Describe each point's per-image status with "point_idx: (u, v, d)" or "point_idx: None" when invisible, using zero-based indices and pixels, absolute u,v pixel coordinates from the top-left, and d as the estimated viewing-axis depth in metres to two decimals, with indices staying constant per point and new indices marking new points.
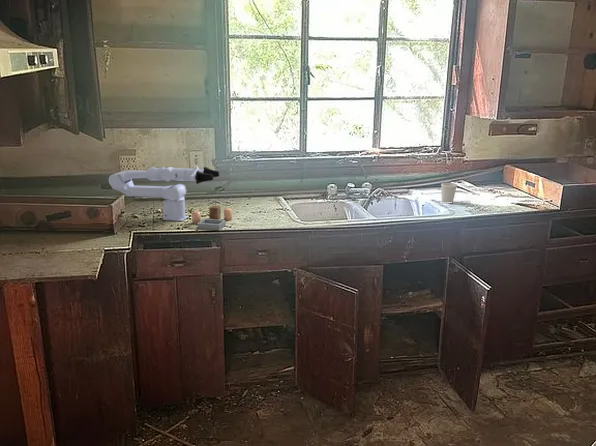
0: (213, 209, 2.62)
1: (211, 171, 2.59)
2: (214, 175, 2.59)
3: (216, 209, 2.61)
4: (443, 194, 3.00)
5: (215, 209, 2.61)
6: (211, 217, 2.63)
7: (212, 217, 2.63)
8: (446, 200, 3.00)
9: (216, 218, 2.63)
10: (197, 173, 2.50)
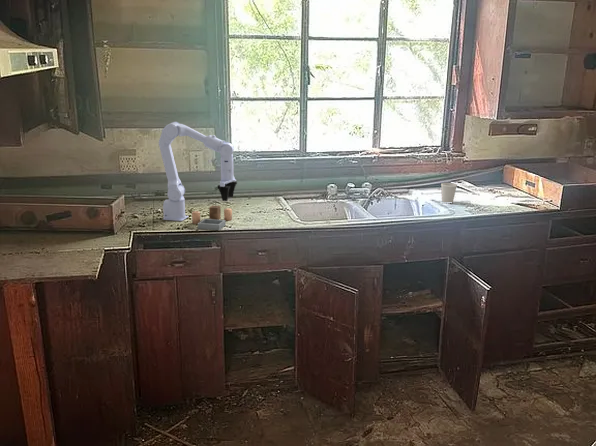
0: (213, 209, 2.62)
1: (232, 190, 2.64)
2: (228, 192, 2.65)
3: (216, 209, 2.61)
4: (443, 194, 3.00)
5: (215, 209, 2.61)
6: (211, 217, 2.63)
7: (212, 217, 2.63)
8: (446, 200, 3.00)
9: (216, 218, 2.63)
10: (227, 188, 2.54)
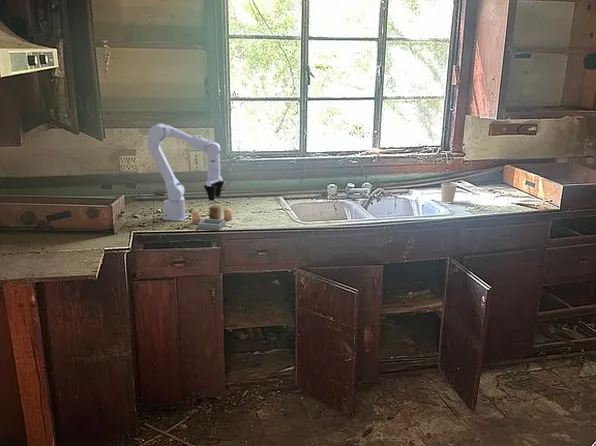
0: (213, 209, 2.62)
1: (219, 190, 2.65)
2: (215, 192, 2.65)
3: (216, 209, 2.61)
4: (443, 194, 3.00)
5: (215, 209, 2.61)
6: (211, 217, 2.63)
7: (212, 217, 2.63)
8: (446, 200, 3.00)
9: (216, 218, 2.63)
10: (213, 188, 2.55)
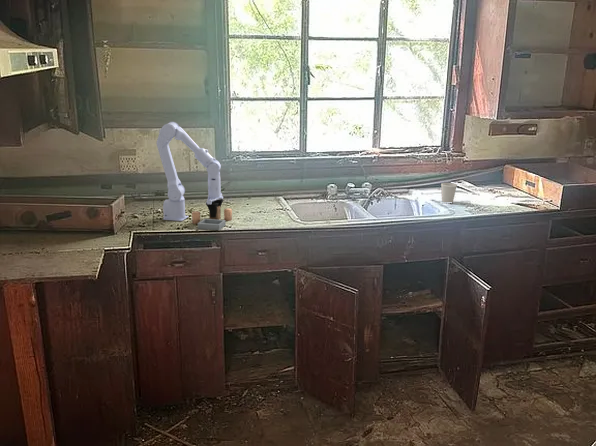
0: None
1: None
2: None
3: None
4: (443, 194, 3.00)
5: None
6: (211, 217, 2.63)
7: (212, 217, 2.63)
8: (446, 200, 3.00)
9: (216, 218, 2.63)
10: (215, 205, 2.58)
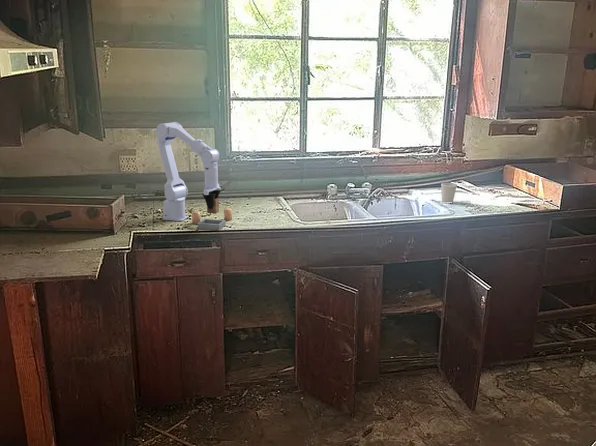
0: None
1: None
2: None
3: (214, 201, 2.50)
4: (443, 194, 3.00)
5: None
6: (209, 210, 2.51)
7: (210, 210, 2.51)
8: (446, 200, 3.00)
9: (214, 211, 2.51)
10: (212, 196, 2.46)
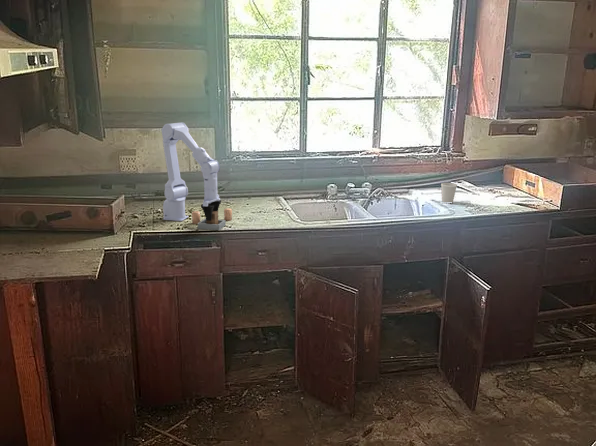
0: None
1: (216, 209, 2.54)
2: (212, 211, 2.55)
3: (213, 214, 2.49)
4: (443, 194, 3.00)
5: (212, 214, 2.49)
6: (208, 223, 2.51)
7: (209, 223, 2.51)
8: (446, 200, 3.00)
9: None
10: (211, 208, 2.45)
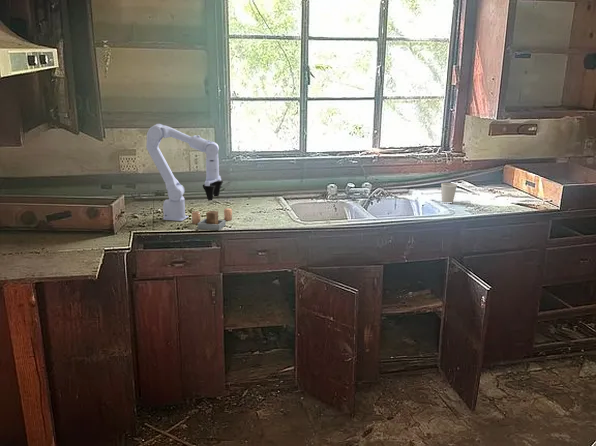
0: (210, 214, 2.50)
1: (218, 189, 2.65)
2: (214, 191, 2.66)
3: (213, 214, 2.49)
4: (443, 194, 3.00)
5: (212, 214, 2.49)
6: (208, 223, 2.51)
7: (209, 223, 2.51)
8: (446, 200, 3.00)
9: None
10: (212, 187, 2.55)
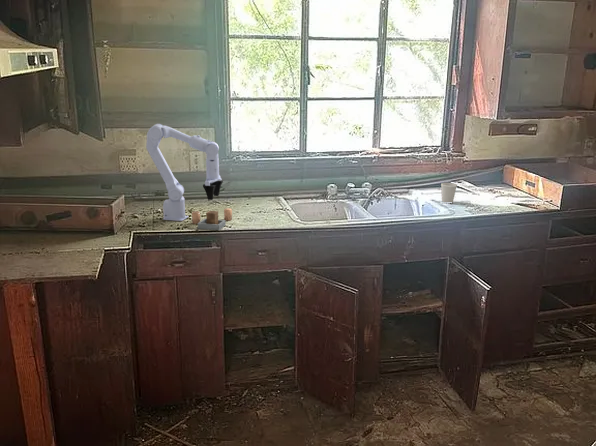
0: (210, 214, 2.50)
1: (218, 189, 2.66)
2: (214, 191, 2.66)
3: (213, 214, 2.49)
4: (443, 194, 3.00)
5: (212, 214, 2.49)
6: (208, 223, 2.51)
7: (209, 223, 2.51)
8: (446, 200, 3.00)
9: None
10: (212, 187, 2.56)
